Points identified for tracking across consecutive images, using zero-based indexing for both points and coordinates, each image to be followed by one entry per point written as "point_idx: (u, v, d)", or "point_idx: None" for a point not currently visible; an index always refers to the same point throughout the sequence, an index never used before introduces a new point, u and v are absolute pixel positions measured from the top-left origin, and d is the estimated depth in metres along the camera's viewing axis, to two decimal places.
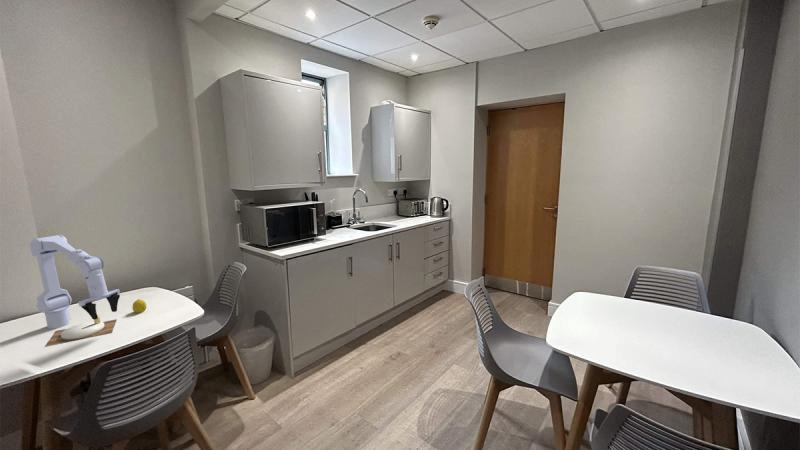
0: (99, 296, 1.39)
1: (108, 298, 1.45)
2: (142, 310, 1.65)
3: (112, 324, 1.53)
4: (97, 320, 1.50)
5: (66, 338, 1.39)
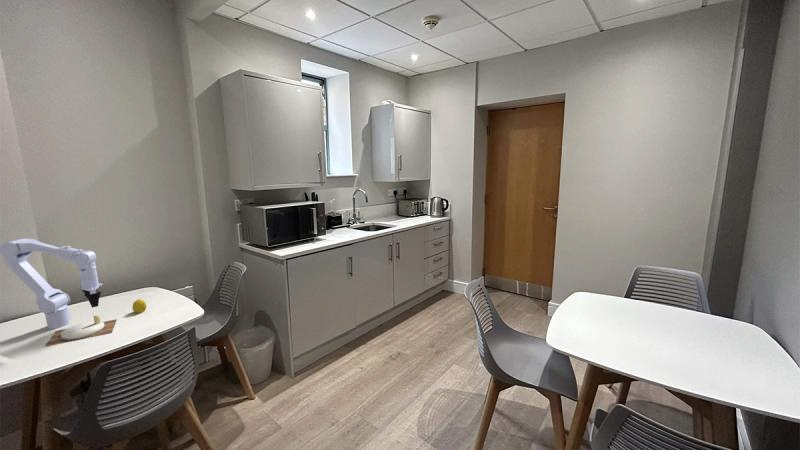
0: (98, 285, 1.52)
1: (86, 290, 1.53)
2: (142, 310, 1.65)
3: (112, 324, 1.53)
4: (97, 320, 1.50)
5: (66, 338, 1.39)
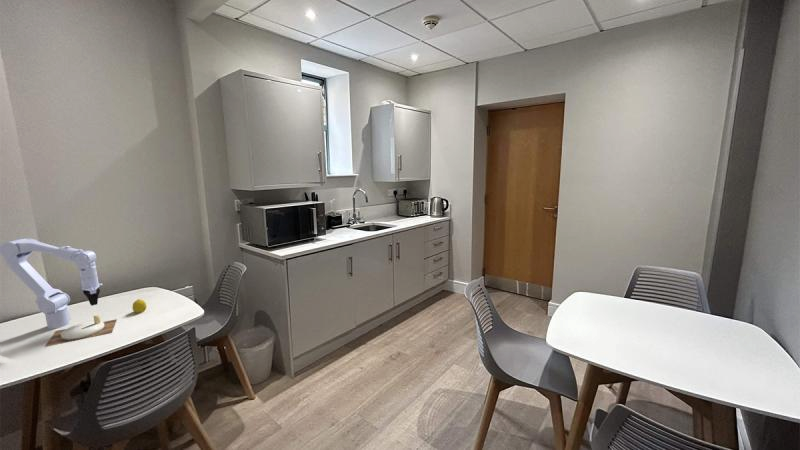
0: (98, 285, 1.52)
1: None
2: (142, 310, 1.65)
3: (112, 324, 1.53)
4: (97, 320, 1.50)
5: (66, 338, 1.39)
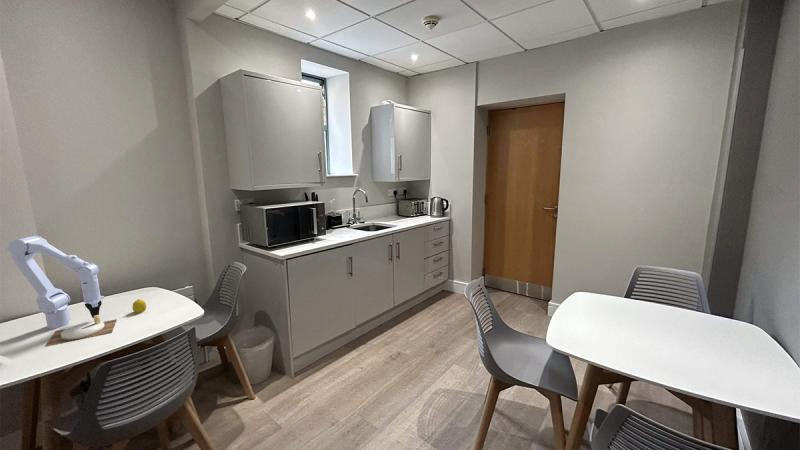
0: (100, 298, 1.53)
1: None
2: (142, 310, 1.65)
3: (112, 324, 1.53)
4: (97, 320, 1.50)
5: (66, 338, 1.39)
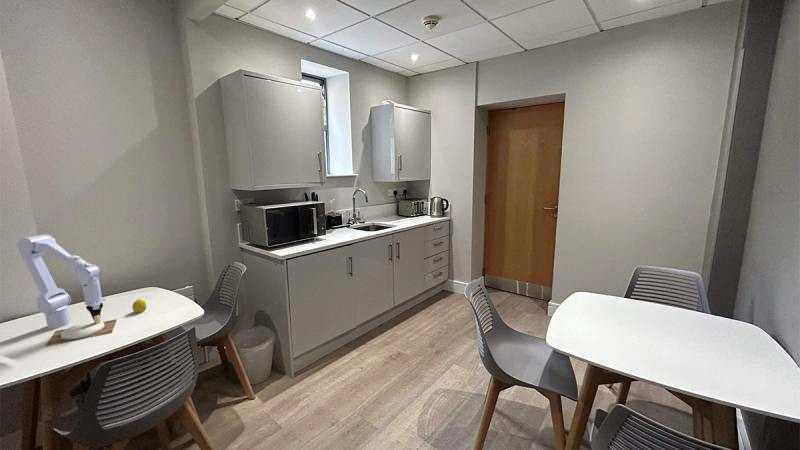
0: (101, 300, 1.51)
1: None
2: (142, 310, 1.65)
3: (112, 324, 1.53)
4: (97, 320, 1.50)
5: (66, 338, 1.39)
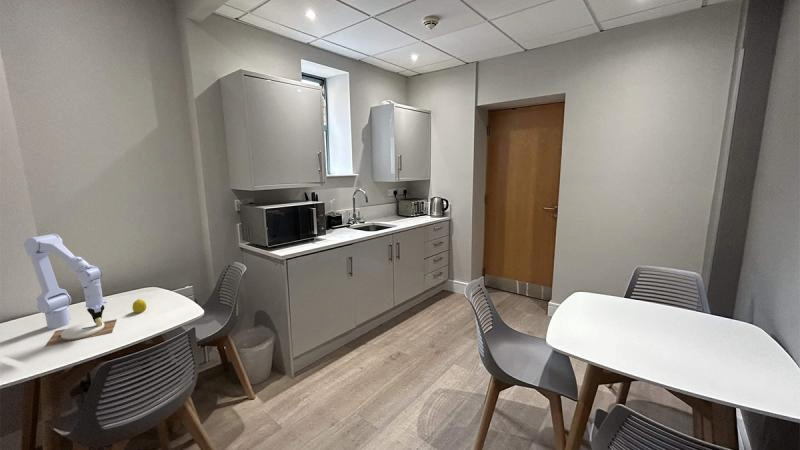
0: (102, 302, 1.48)
1: None
2: (142, 310, 1.65)
3: (112, 324, 1.53)
4: (97, 323, 1.47)
5: (61, 335, 1.41)
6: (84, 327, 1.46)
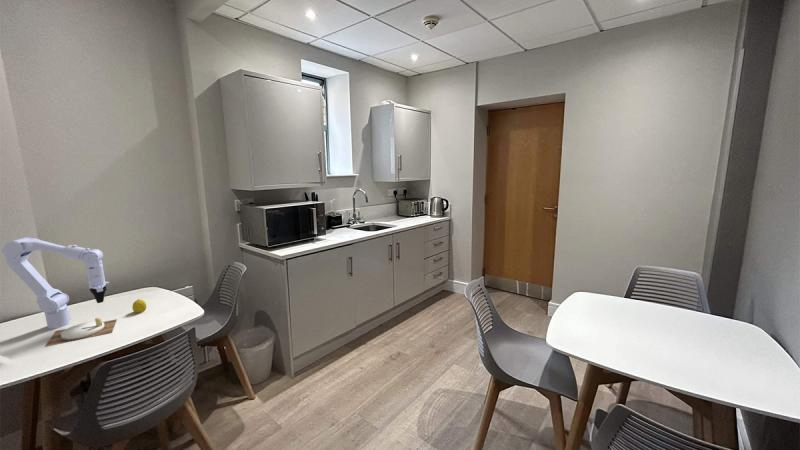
0: (104, 283, 1.55)
1: None
2: (142, 310, 1.65)
3: (112, 324, 1.53)
4: (97, 323, 1.47)
5: (61, 335, 1.41)
6: (84, 327, 1.46)
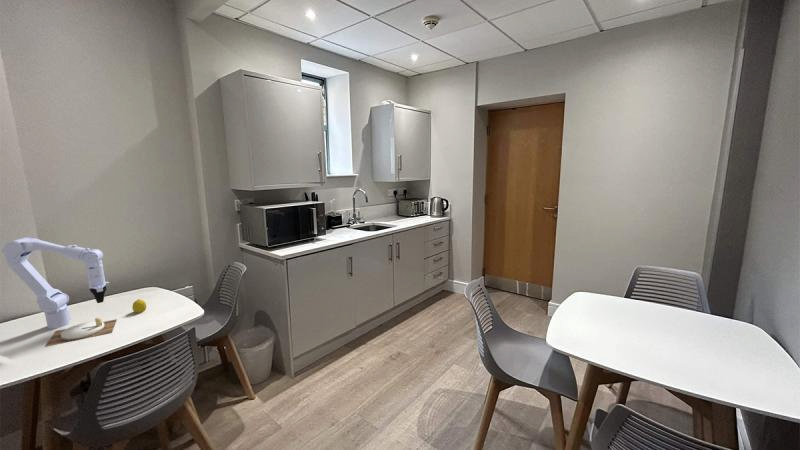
0: (104, 283, 1.55)
1: None
2: (142, 310, 1.65)
3: (112, 324, 1.53)
4: (97, 323, 1.47)
5: (61, 335, 1.41)
6: (84, 327, 1.46)
